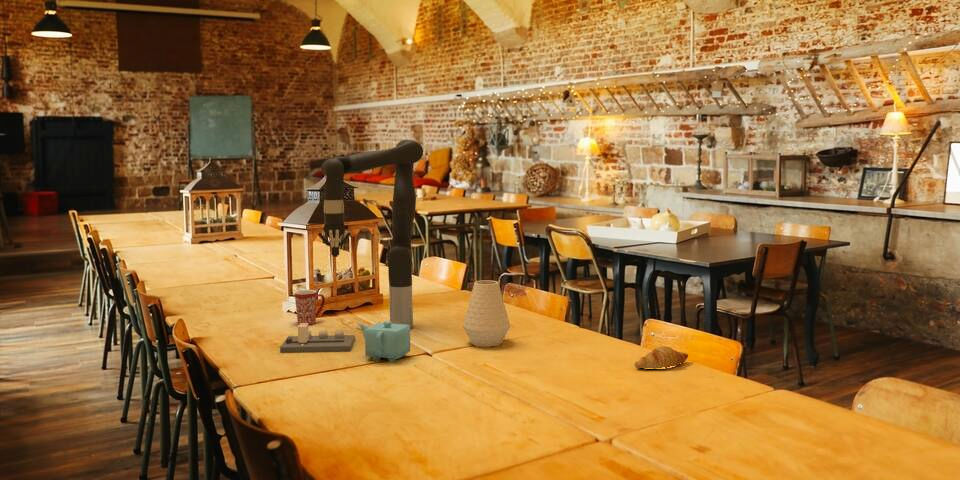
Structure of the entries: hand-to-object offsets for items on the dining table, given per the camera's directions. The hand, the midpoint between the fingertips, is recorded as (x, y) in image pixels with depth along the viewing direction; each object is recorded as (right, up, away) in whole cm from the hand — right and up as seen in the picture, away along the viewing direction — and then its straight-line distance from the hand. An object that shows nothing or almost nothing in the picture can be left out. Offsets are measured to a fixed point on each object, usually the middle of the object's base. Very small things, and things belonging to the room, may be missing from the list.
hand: (335, 256), depth 307 cm
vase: (+58, -32, -9) cm, 67 cm away
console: (-4, -33, -12) cm, 35 cm away
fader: (-9, -31, -14) cm, 35 cm away
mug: (-15, -28, +25) cm, 41 cm away
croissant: (+116, -36, -40) cm, 127 cm away
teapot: (+21, -35, -27) cm, 49 cm away
